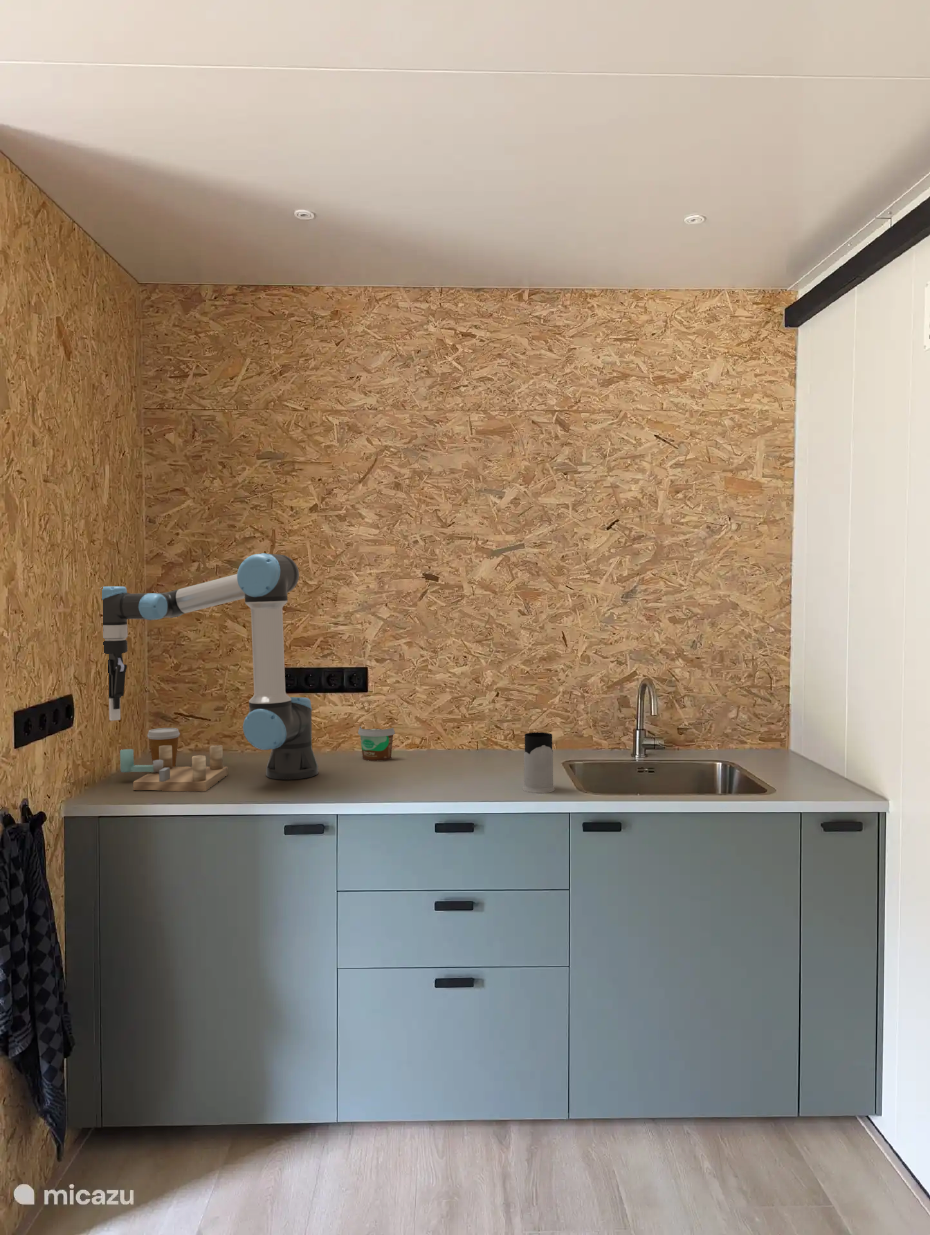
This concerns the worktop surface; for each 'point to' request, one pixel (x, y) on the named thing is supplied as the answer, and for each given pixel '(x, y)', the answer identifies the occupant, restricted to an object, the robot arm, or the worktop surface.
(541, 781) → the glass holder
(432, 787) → the worktop surface
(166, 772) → the block
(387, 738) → the food container
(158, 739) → the disposable coffee cup
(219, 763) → the stool seat
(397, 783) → the worktop surface
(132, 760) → the hinged leg
